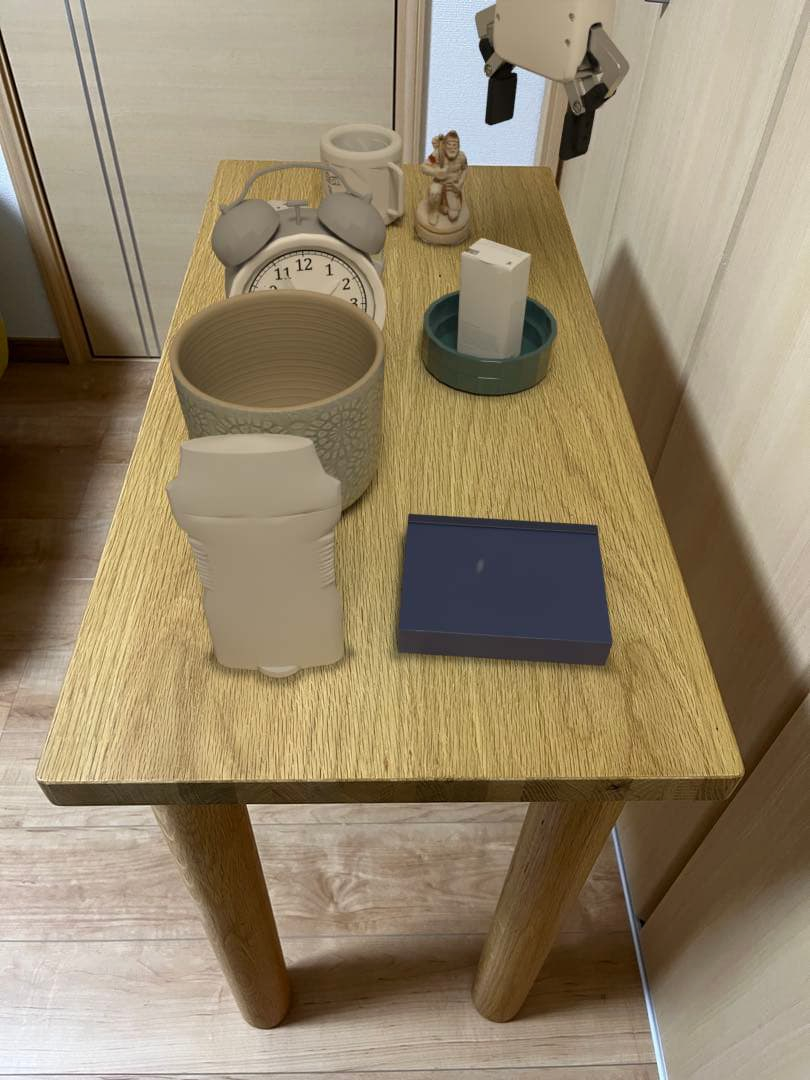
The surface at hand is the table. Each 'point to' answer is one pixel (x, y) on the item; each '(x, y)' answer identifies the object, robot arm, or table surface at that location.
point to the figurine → (444, 194)
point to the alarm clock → (304, 245)
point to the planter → (287, 376)
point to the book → (504, 590)
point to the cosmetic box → (492, 300)
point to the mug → (365, 165)
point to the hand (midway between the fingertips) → (534, 138)
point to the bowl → (487, 371)
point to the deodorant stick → (262, 548)
